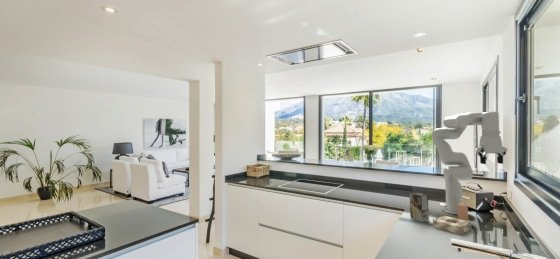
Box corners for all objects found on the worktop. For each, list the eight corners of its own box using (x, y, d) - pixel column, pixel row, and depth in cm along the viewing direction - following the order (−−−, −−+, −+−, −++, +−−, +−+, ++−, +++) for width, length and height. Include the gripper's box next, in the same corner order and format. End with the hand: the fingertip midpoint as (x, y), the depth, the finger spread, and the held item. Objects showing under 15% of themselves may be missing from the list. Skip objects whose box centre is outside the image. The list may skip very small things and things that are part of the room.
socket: (433, 227, 149) (433, 220, 149) (444, 222, 157) (444, 215, 157) (460, 234, 137) (460, 227, 137) (471, 228, 145) (471, 221, 145)
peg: (457, 222, 156) (457, 204, 156) (460, 221, 158) (460, 203, 158) (465, 224, 152) (464, 205, 153) (468, 222, 155) (467, 204, 155)
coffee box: (429, 220, 159) (428, 195, 160) (422, 222, 157) (421, 196, 157) (416, 216, 168) (415, 192, 168) (409, 218, 165) (409, 193, 166)
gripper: (500, 133, 148) (501, 162, 148) (470, 133, 148) (471, 163, 148) (511, 133, 140) (513, 164, 140) (480, 133, 141) (481, 164, 140)
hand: (491, 163), depth 144 cm, fingers open, 9 cm apart
